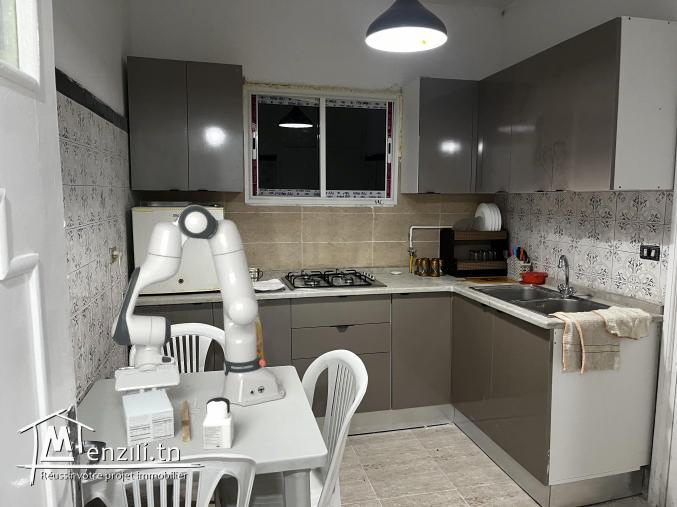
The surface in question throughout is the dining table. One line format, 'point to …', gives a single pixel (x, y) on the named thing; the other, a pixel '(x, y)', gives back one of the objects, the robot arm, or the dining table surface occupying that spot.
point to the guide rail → (185, 421)
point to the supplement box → (148, 417)
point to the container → (218, 424)
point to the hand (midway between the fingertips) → (148, 403)
